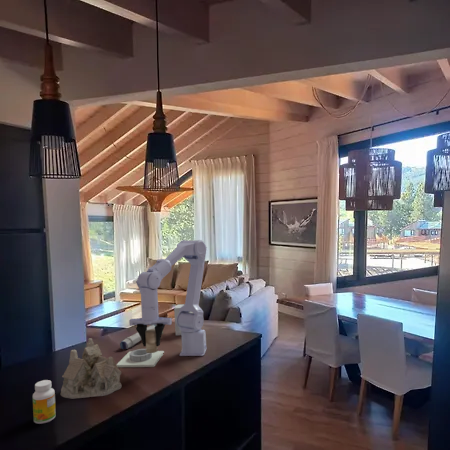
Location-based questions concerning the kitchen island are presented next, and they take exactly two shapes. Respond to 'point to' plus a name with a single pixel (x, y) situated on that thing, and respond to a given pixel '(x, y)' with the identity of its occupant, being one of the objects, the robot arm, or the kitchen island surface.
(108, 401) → the kitchen island surface
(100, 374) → the ceramic cottage
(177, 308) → the supplement box
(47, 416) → the supplement bottle
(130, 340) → the white handheld device
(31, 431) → the kitchen island surface
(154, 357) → the collar plate
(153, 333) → the maple peg
